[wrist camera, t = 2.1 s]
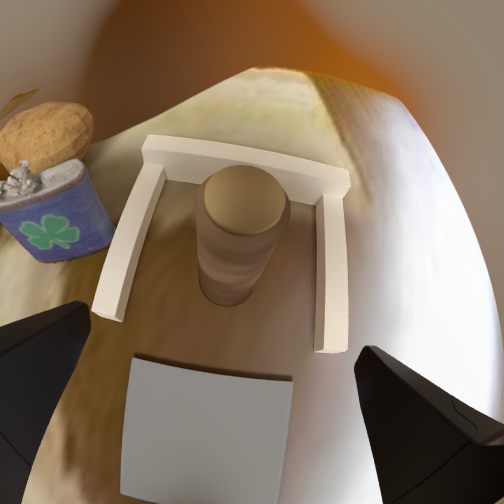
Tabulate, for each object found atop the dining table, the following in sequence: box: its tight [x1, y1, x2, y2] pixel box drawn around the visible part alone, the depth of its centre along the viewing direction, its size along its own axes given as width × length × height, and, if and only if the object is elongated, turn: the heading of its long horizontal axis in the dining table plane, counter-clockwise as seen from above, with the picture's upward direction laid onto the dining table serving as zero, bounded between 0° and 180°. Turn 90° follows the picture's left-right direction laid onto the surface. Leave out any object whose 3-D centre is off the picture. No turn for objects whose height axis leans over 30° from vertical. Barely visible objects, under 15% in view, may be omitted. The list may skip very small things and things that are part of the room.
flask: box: [0, 159, 116, 264], centre depth 16 cm, size 9×3×11 cm, turn 105°
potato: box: [0, 101, 94, 175], centre depth 20 cm, size 10×14×8 cm
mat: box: [120, 357, 294, 504], centre depth 15 cm, size 12×12×1 cm
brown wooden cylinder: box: [196, 165, 290, 307], centre depth 17 cm, size 4×4×11 cm
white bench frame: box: [91, 134, 351, 353], centre depth 21 cm, size 16×19×4 cm
